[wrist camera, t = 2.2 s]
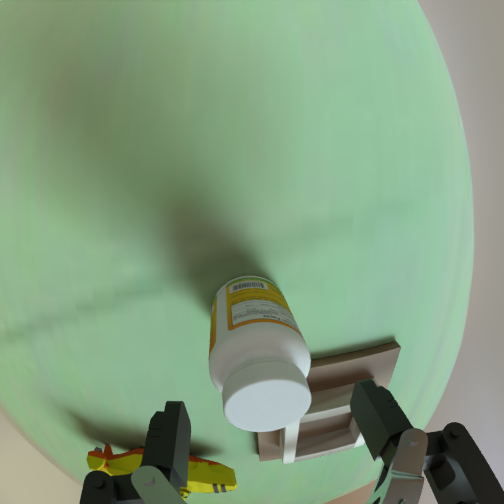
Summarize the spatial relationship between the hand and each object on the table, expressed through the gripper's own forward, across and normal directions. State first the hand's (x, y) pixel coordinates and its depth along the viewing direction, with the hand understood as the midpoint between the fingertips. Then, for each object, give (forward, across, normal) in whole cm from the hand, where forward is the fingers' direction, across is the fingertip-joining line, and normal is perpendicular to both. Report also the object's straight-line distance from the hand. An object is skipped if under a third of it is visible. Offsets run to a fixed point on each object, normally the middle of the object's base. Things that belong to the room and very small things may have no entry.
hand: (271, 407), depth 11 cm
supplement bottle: (+10, 0, 0) cm, 10 cm away
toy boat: (+10, +12, +21) cm, 26 cm away
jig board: (+10, -7, +14) cm, 18 cm away
